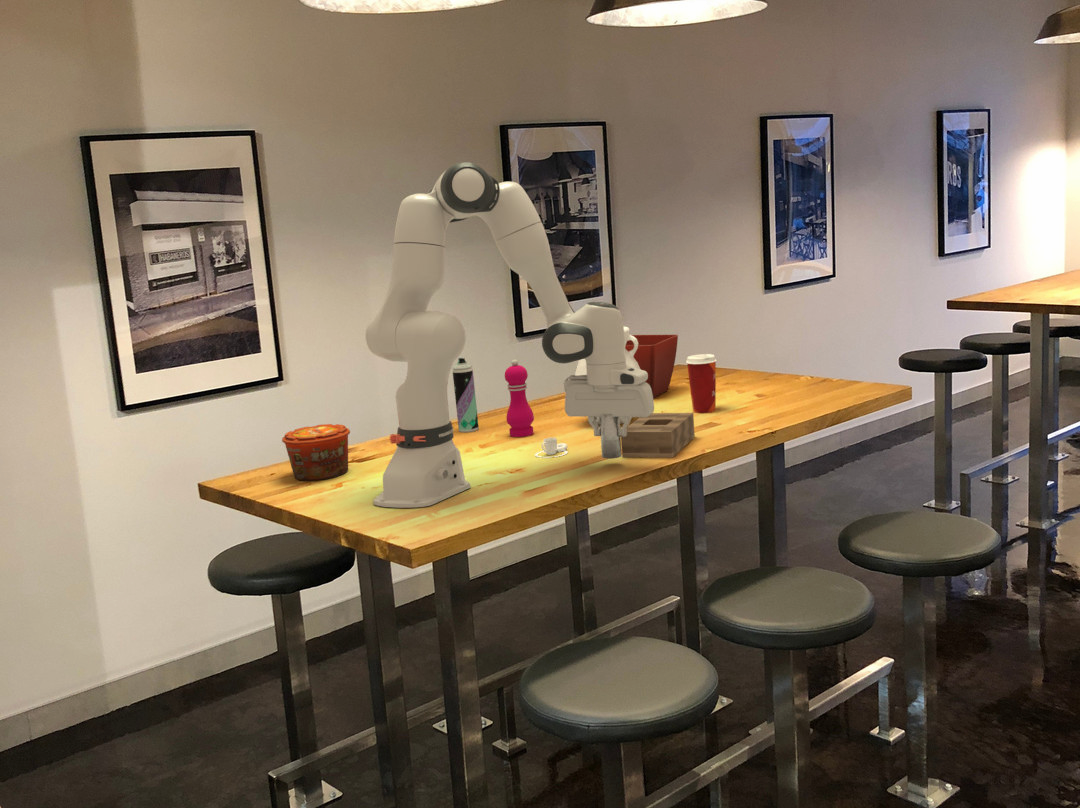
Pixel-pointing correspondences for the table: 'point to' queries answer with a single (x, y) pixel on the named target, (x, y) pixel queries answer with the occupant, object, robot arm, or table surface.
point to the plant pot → (655, 359)
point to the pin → (610, 436)
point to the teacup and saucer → (552, 447)
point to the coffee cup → (702, 382)
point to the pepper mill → (518, 402)
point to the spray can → (465, 396)
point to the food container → (318, 451)
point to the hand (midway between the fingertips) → (610, 435)
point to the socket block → (658, 435)
